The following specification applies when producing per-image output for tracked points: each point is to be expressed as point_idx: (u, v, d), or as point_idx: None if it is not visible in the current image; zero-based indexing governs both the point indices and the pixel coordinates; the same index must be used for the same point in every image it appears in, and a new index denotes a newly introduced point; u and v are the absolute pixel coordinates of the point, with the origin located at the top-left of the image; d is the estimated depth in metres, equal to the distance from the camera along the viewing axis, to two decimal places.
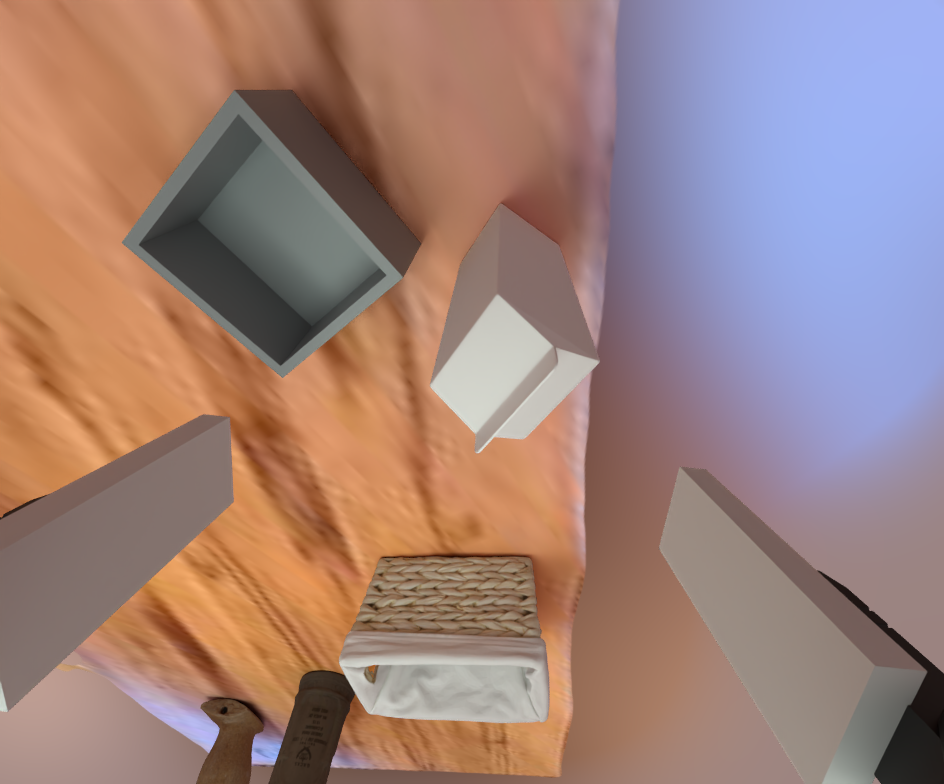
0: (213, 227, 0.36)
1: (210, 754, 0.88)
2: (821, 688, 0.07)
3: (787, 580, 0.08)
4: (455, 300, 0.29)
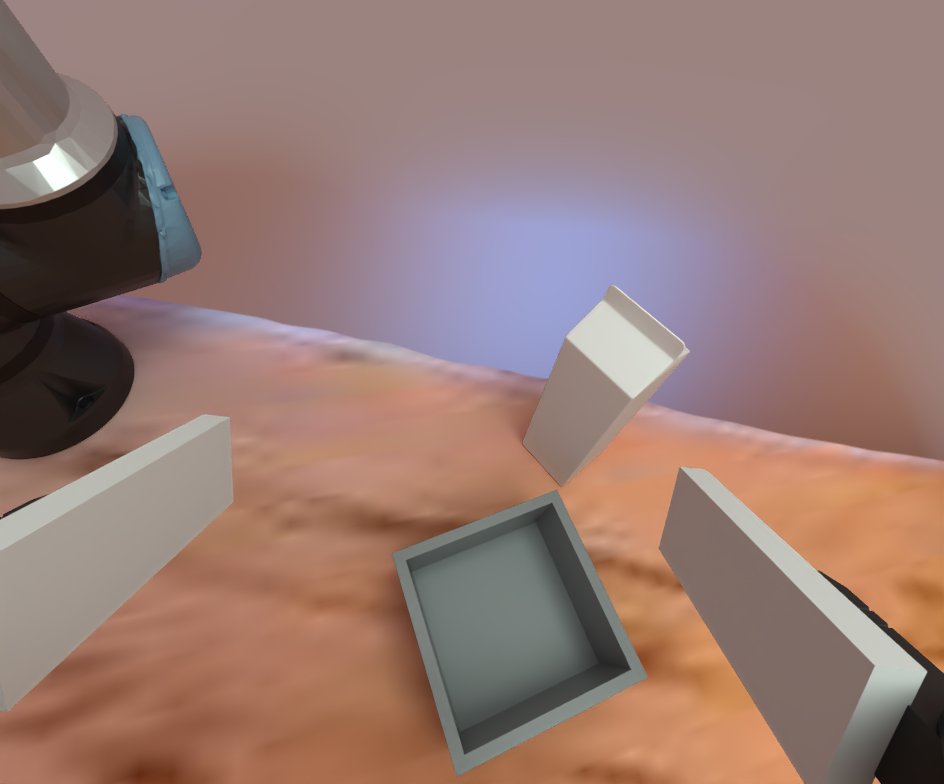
0: (472, 717, 0.33)
1: None
2: (821, 688, 0.07)
3: (787, 580, 0.08)
4: (581, 442, 0.35)
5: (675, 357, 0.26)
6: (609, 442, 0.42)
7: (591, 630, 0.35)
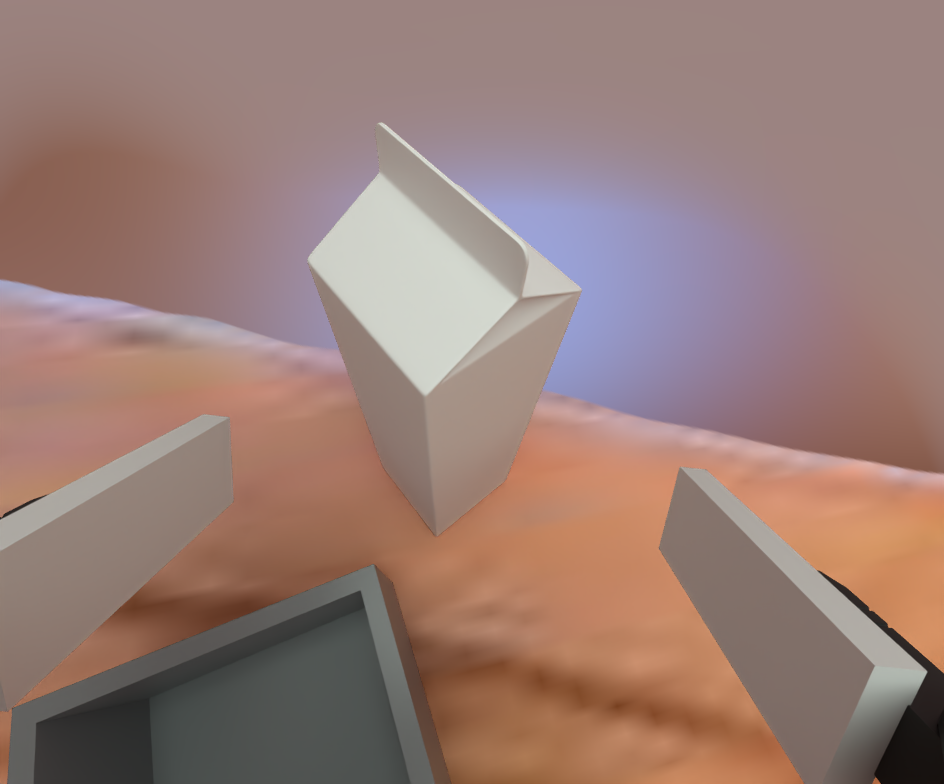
0: None
1: None
2: (821, 688, 0.07)
3: (787, 580, 0.08)
4: (418, 476, 0.19)
5: (518, 290, 0.10)
6: (504, 467, 0.26)
7: None
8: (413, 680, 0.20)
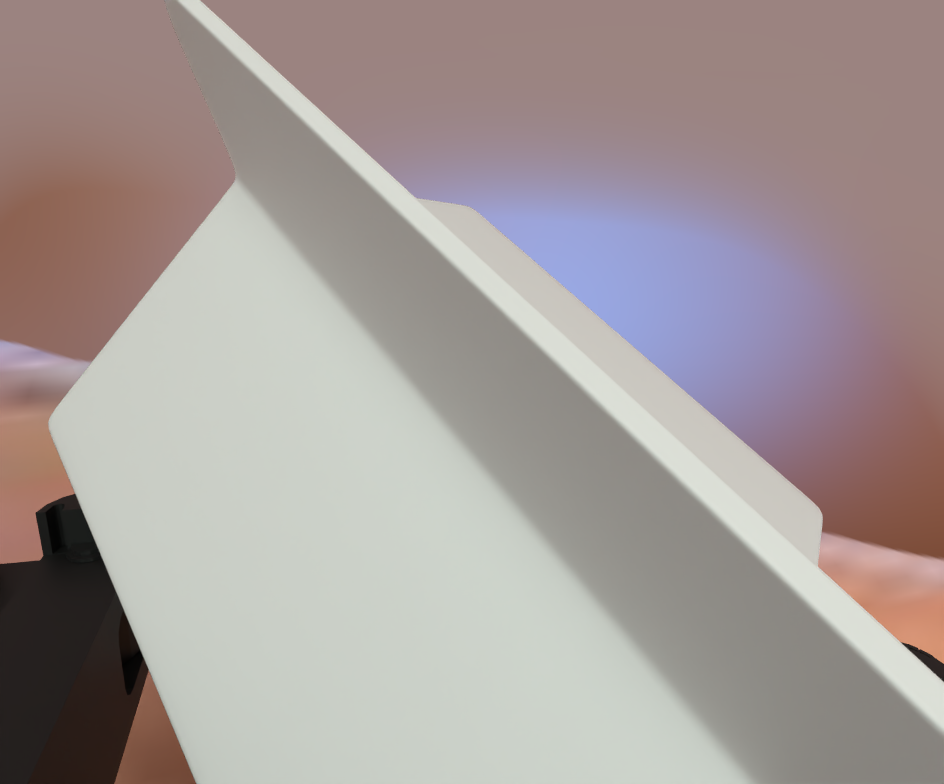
0: None
1: None
2: None
3: None
4: None
5: None
6: None
7: None
8: None
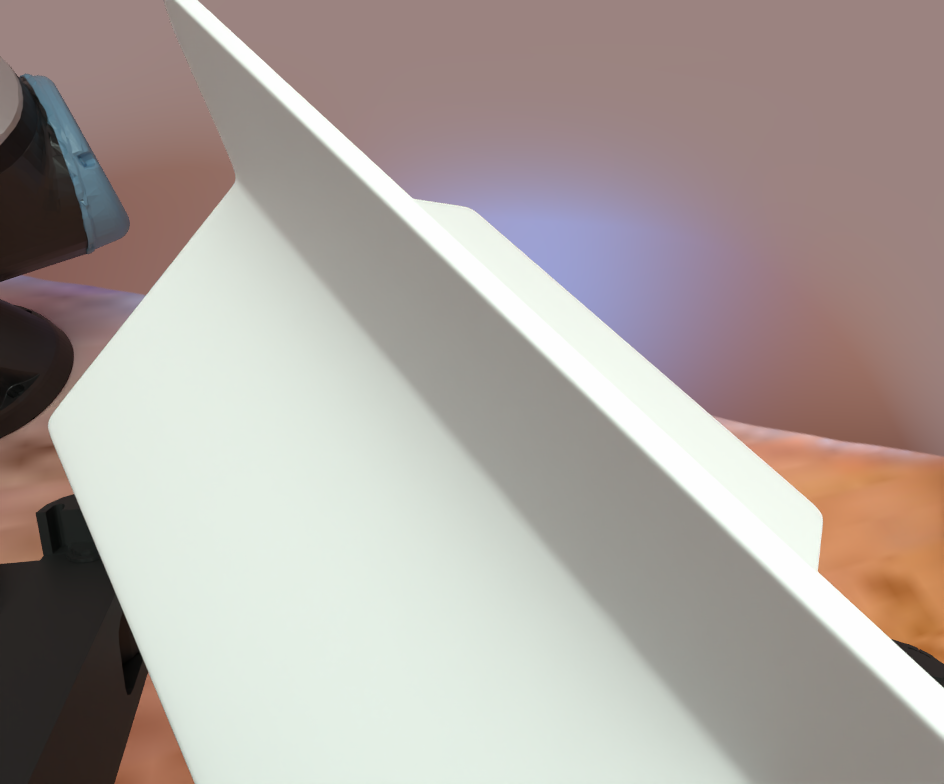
0: None
1: None
2: None
3: None
4: None
5: None
6: None
7: None
8: None
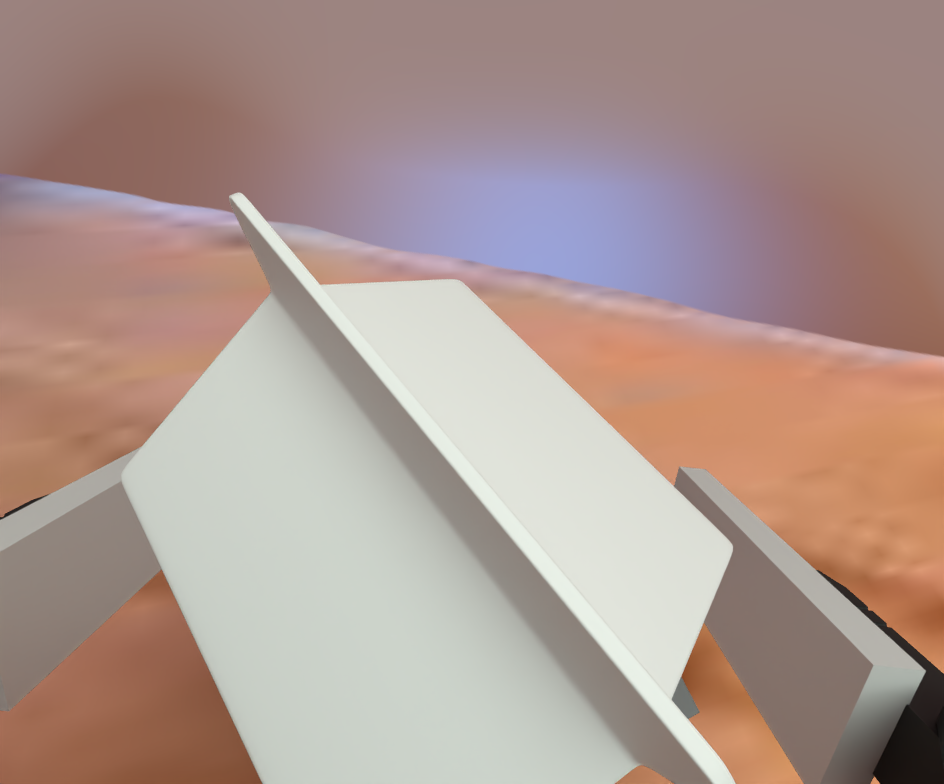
0: None
1: None
2: (820, 687, 0.07)
3: (786, 579, 0.08)
4: None
5: (647, 761, 0.03)
6: None
7: None
8: None
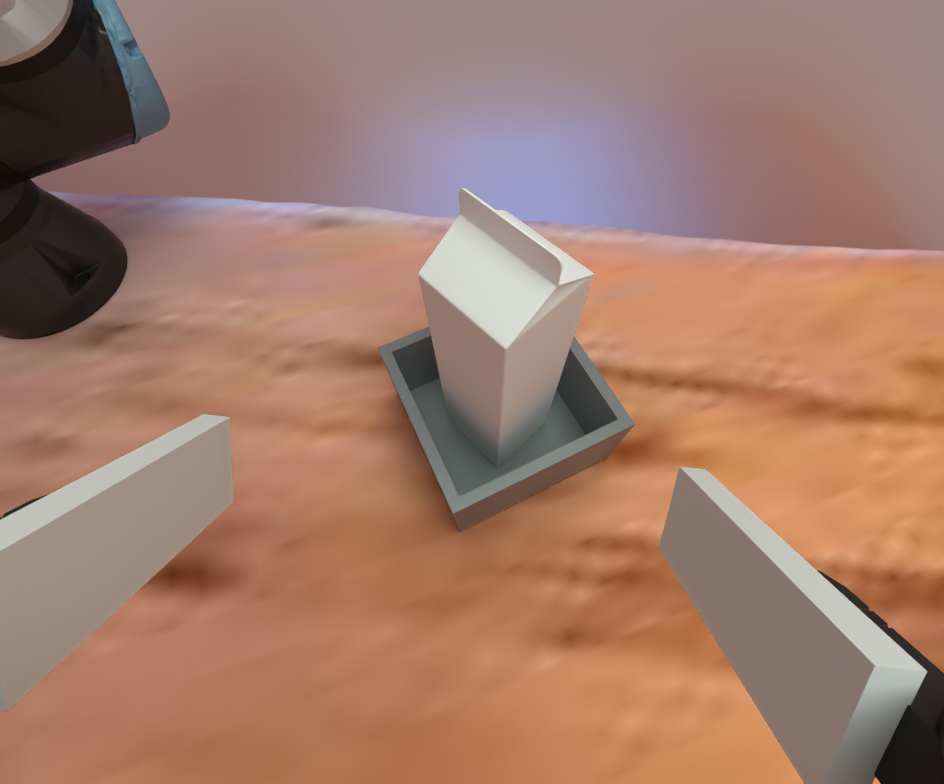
0: None
1: None
2: (821, 688, 0.07)
3: (787, 580, 0.08)
4: (488, 414, 0.27)
5: (556, 281, 0.18)
6: (545, 408, 0.34)
7: (584, 416, 0.36)
8: None
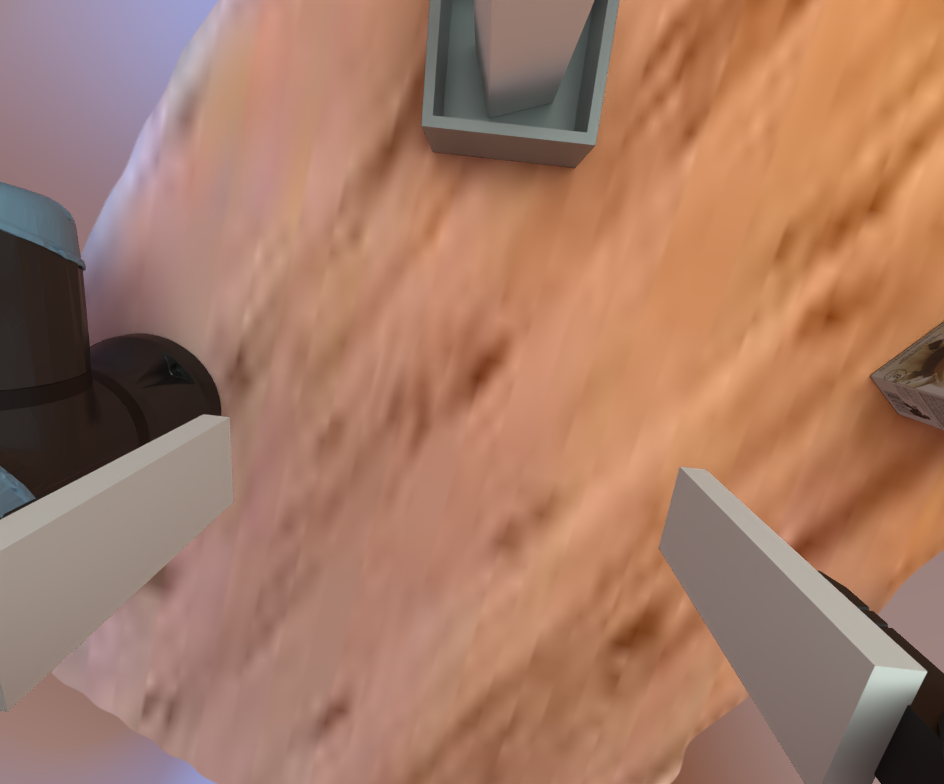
0: None
1: None
2: (821, 688, 0.07)
3: (787, 580, 0.08)
4: (560, 54, 0.30)
5: None
6: None
7: None
8: None
